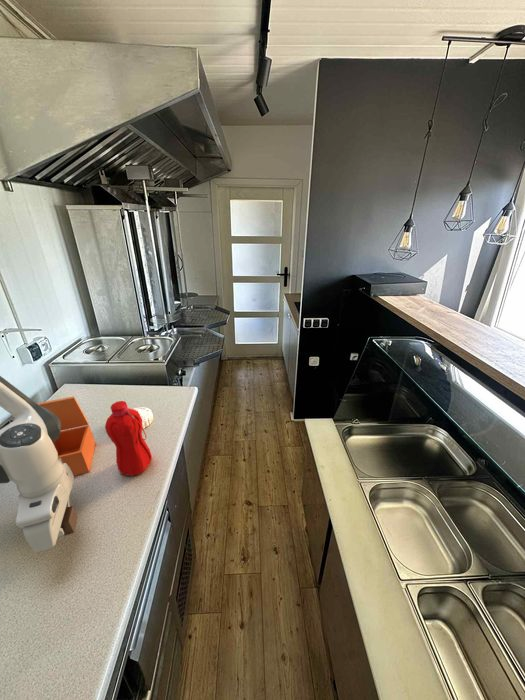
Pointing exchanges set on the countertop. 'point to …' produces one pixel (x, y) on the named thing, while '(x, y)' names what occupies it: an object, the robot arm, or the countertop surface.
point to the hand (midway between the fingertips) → (63, 523)
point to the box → (76, 448)
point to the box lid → (66, 412)
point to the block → (69, 520)
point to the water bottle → (128, 439)
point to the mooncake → (145, 416)
